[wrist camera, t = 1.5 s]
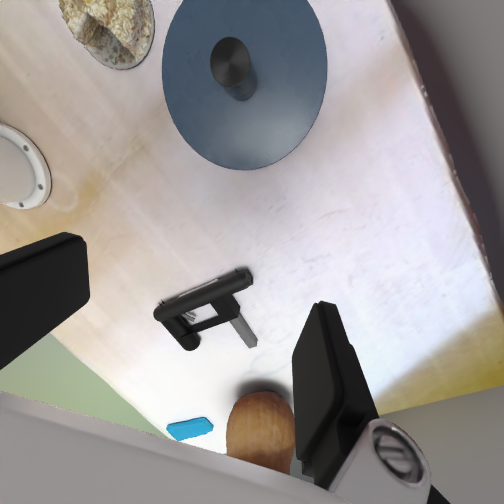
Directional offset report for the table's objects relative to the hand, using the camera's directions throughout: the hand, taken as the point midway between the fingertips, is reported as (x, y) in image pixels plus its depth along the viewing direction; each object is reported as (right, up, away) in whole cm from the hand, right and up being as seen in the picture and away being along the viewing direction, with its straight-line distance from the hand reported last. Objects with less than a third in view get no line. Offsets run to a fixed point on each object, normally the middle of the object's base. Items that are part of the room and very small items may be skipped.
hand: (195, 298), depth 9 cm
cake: (-14, +30, +19) cm, 38 cm away
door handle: (-4, -10, +34) cm, 36 cm away
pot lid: (+1, +17, +12) cm, 21 cm away
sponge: (-13, -42, +49) cm, 66 cm away
